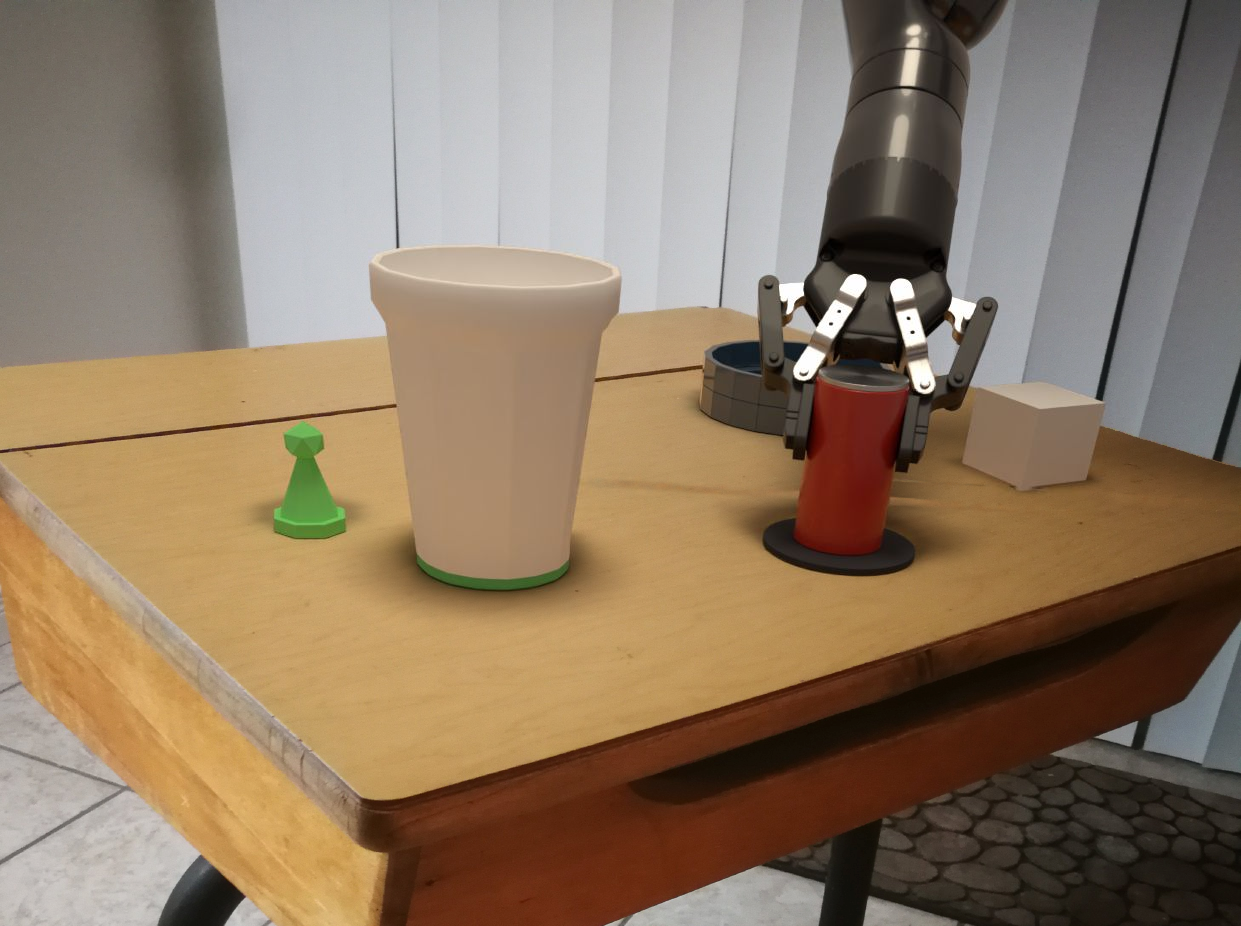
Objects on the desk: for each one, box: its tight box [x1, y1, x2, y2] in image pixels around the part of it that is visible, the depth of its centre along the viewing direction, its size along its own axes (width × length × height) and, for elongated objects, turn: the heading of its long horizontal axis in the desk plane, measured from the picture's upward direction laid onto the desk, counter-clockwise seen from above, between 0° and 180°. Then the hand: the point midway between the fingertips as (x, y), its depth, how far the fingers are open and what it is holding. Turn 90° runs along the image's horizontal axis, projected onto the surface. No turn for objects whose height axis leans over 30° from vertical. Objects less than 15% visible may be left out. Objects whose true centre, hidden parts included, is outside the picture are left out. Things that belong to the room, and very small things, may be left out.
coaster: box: [762, 517, 916, 576], centre depth 77 cm, size 9×9×1 cm
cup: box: [368, 244, 623, 591], centre depth 68 cm, size 12×12×15 cm
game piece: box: [273, 420, 347, 539], centre depth 74 cm, size 4×4×6 cm
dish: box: [698, 339, 892, 436], centre depth 101 cm, size 14×14×4 cm
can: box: [794, 365, 910, 556], centre depth 75 cm, size 5×5×10 cm
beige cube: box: [961, 381, 1107, 492], centre depth 90 cm, size 6×6×6 cm
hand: (851, 458), depth 73 cm, fingers closed on can, 5 cm apart
